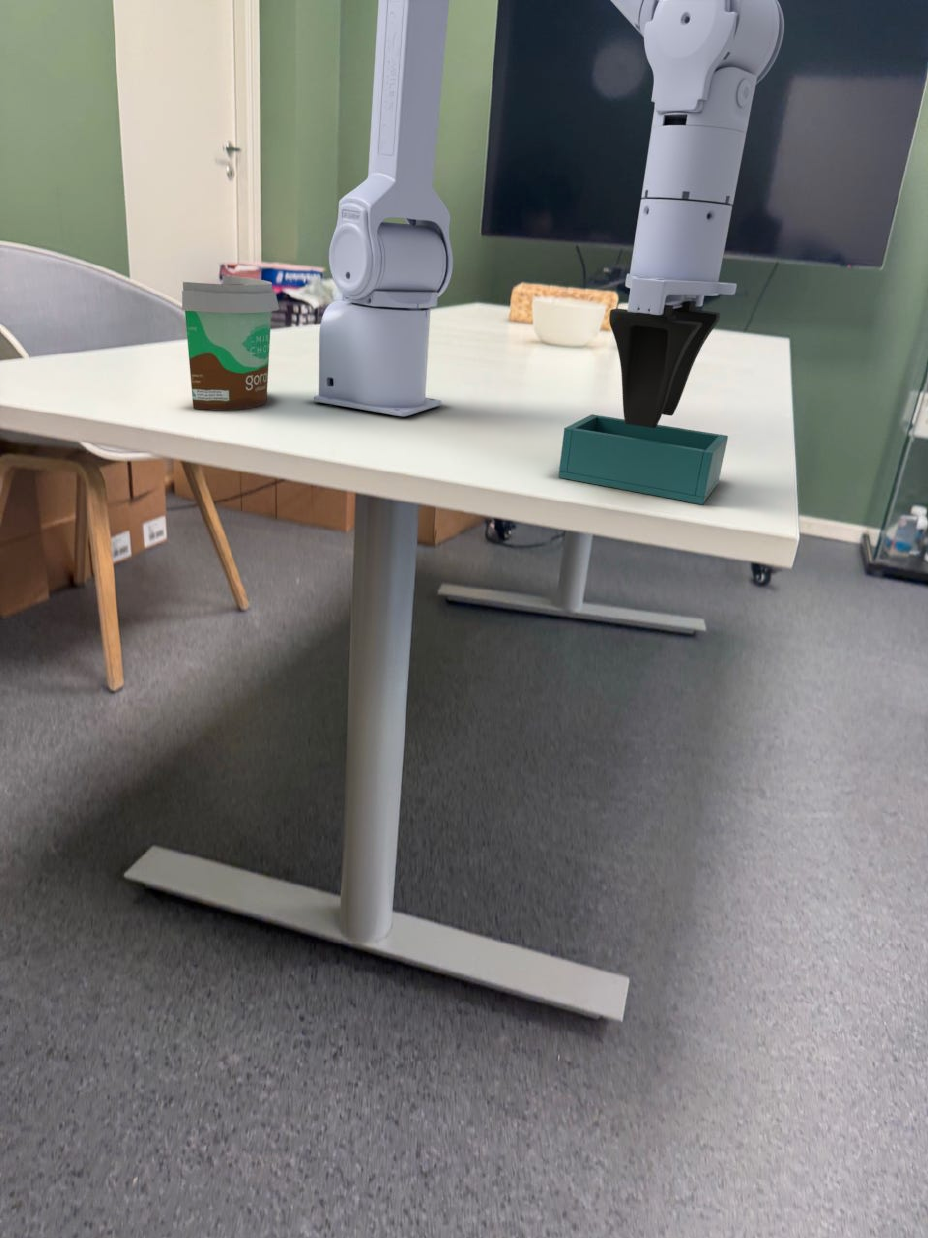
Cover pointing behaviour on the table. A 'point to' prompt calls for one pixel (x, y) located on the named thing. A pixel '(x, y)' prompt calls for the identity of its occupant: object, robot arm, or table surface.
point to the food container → (229, 341)
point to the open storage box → (643, 458)
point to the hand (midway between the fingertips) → (649, 418)
